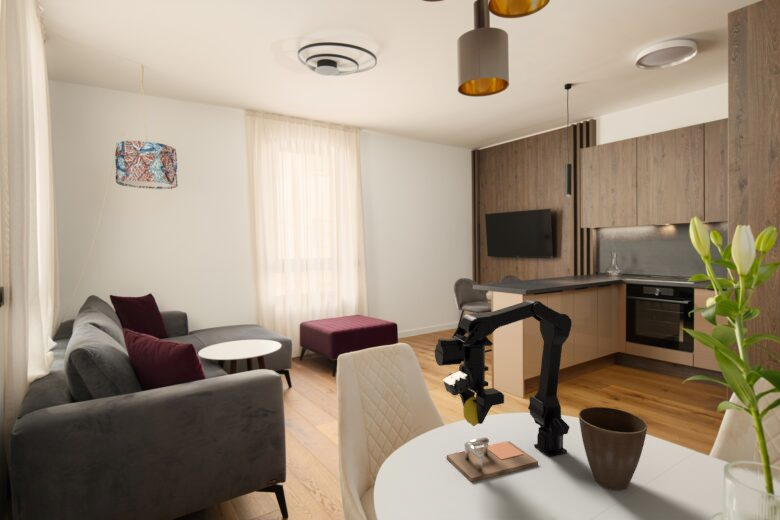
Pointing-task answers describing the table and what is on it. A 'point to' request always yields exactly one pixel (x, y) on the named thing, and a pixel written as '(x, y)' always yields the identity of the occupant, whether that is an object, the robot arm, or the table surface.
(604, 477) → the plant pot
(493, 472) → the walnut board
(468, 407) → the lemon
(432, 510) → the table surface
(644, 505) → the table surface
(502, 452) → the terracotta tile
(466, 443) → the bent wire
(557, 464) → the table surface
